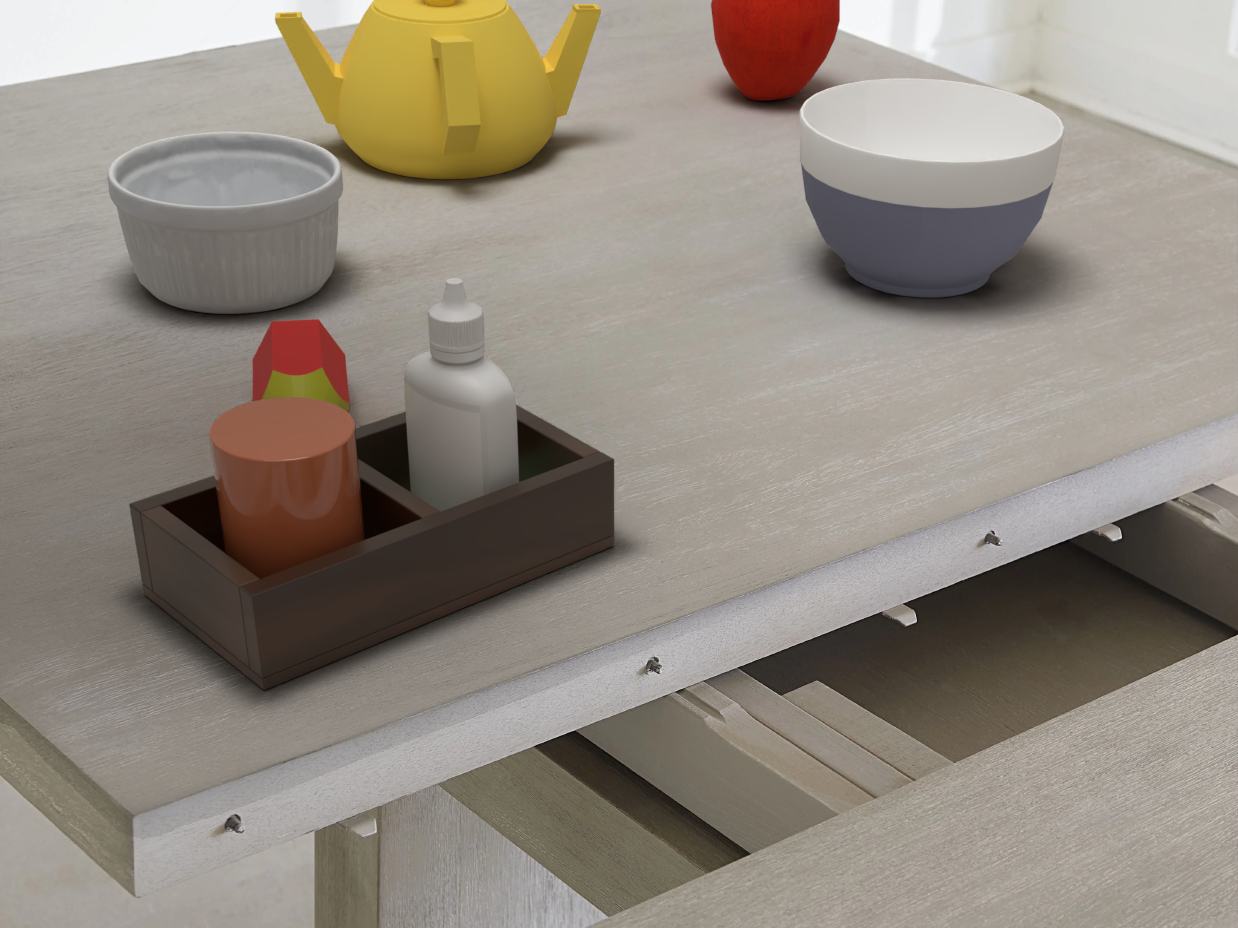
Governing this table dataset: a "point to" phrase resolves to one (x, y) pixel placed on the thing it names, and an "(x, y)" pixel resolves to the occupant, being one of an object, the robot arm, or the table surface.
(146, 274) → the ramekin
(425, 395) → the eye dropper bottle
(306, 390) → the pencil
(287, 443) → the glossy orange cylinder
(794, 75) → the apple
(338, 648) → the divided wooden box
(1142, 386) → the table surface
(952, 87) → the bowl
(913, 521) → the table surface
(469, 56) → the teapot
